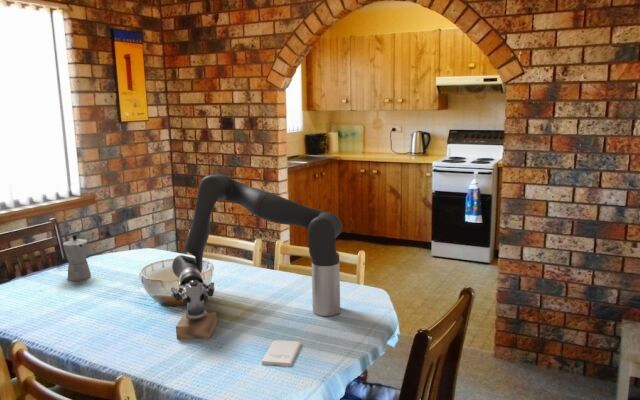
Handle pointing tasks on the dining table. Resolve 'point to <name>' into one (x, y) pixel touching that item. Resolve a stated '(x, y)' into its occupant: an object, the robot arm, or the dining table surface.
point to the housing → (195, 301)
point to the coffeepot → (77, 259)
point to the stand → (196, 327)
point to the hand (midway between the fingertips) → (195, 300)
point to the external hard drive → (281, 353)
